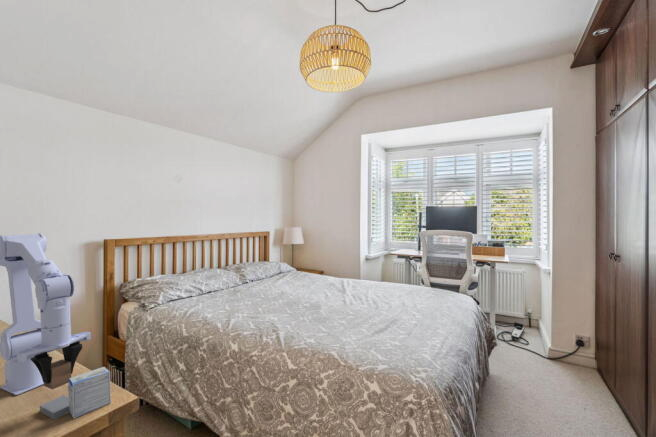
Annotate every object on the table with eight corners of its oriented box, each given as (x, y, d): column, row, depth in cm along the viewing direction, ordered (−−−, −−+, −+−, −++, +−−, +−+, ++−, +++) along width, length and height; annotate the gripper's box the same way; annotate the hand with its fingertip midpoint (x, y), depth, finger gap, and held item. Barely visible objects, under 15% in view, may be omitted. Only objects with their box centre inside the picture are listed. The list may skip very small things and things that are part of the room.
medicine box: (105, 397, 85) (104, 365, 85) (111, 403, 82) (110, 370, 82) (68, 412, 79) (67, 378, 79) (73, 419, 76) (72, 383, 76)
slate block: (40, 413, 79) (39, 405, 79) (63, 402, 84) (63, 395, 84) (54, 421, 76) (53, 413, 76) (78, 409, 81) (77, 401, 81)
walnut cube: (43, 385, 79) (43, 366, 79) (62, 378, 83) (62, 359, 83) (52, 389, 77) (51, 369, 77) (71, 381, 81) (70, 362, 81)
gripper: (27, 337, 71) (29, 396, 72) (96, 317, 85) (98, 367, 85) (12, 332, 74) (14, 389, 75) (81, 314, 88) (83, 363, 88)
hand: (58, 377), depth 80 cm, fingers closed on walnut cube, 4 cm apart
